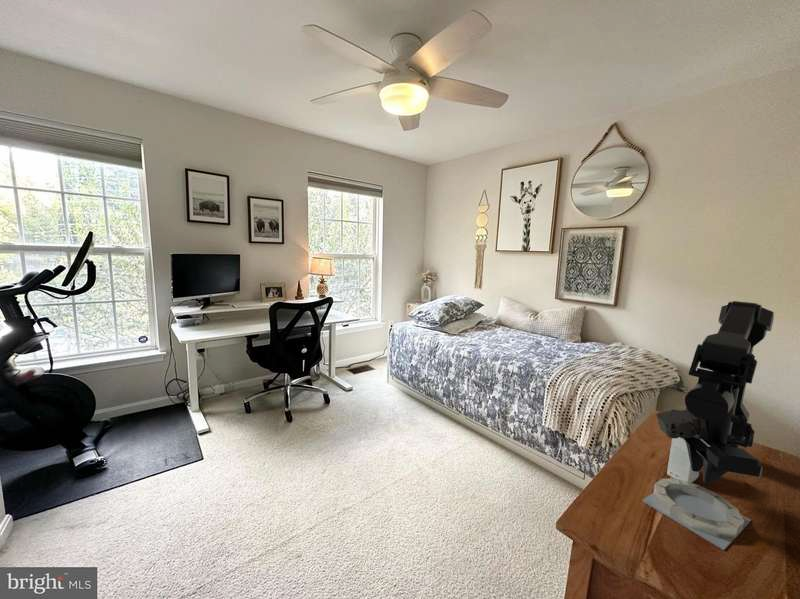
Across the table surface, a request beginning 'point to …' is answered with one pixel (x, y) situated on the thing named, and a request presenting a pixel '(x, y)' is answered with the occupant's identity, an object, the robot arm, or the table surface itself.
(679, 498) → the grey base plate
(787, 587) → the table surface
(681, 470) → the skincare box
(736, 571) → the table surface
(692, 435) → the robot arm
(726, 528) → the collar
